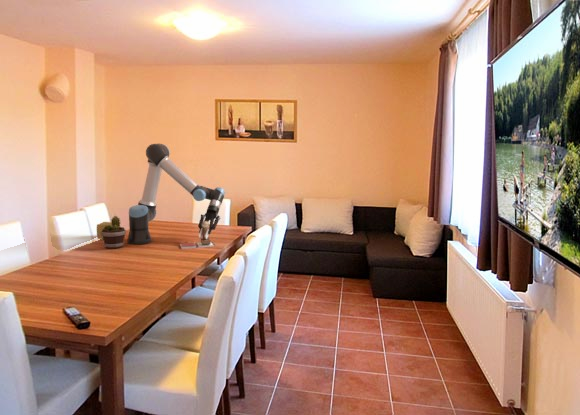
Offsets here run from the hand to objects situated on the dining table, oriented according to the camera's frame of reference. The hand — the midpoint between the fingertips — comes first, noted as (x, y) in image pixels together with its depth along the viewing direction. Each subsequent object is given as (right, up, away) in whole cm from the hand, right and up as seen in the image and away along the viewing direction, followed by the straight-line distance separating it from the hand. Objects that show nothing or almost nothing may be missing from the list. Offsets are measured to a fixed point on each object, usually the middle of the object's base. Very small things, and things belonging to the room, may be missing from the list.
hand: (202, 237), depth 279 cm
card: (+1, -5, +4) cm, 7 cm away
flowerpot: (-54, -6, -5) cm, 54 cm away
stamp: (+1, -4, +4) cm, 6 cm away
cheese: (-68, -2, +21) cm, 72 cm away
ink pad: (-9, -6, -1) cm, 11 cm away
